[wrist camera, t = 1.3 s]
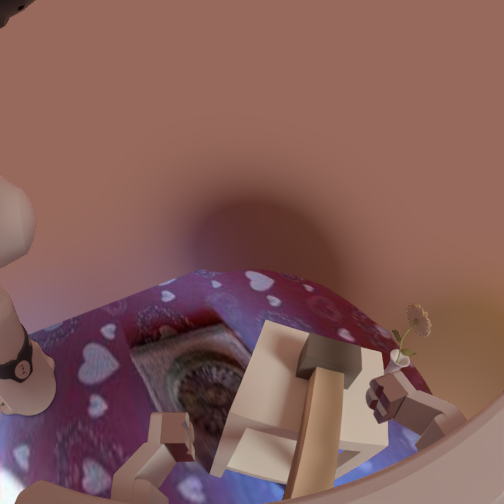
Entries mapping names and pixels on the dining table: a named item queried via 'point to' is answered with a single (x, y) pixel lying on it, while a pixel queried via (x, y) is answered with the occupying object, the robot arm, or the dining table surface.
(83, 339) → the dining table surface
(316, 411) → the mallet
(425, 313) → the flower in vase
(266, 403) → the shelf stand
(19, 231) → the robot arm
